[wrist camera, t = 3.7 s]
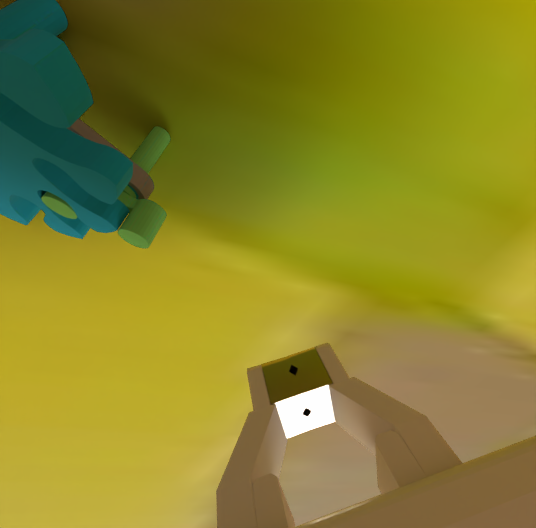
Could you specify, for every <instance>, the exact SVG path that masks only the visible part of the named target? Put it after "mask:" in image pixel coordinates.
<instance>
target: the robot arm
mask: <svg viewBox="0 0 536 528" xmlns="http://www.w3.org/2000/svg"><path fill="white" fill-rule="evenodd" d="M247 375H248V381H249V387H250V393H251V398H252V404H253V410H254V411H252V412H249V415H248V417H247V419H246V422H245V424H244V426H243V429H242V431H241V434H240V436H239V438H238V441H237V443H236V446H235V448H234V450H233V453H232V455H231V457H230V460H229V462H228V465H227V467H226V469H225V472H224V474H223V477H222V479H221V481H220V484H219V486H218V488H217V491H216V495H217V528H536V436H533V437H531V438H528V439H526V440H523V441H520V442H518V443H515V444H512V445H510V446H507V447H505V448H502V449H499V450H497V451H494V452H491V453H489V454H486V455H483V456H481V457H478V458H476V459H473V460H470V461H468V462H465V463H462V462H461V461H460V459H459V458H458V457H457V455H456V454H455V453H454V452H453V450H452V449H451V448H450V446H449V445H448V444H447V443H446V441H445V440H444V439H443V437H442V436H441V435H440V434H439V432H438V431H437V430H436V428H435V427H434V426H433V425H432V423H431V422H430V421H429V419H428V418H427V417H426V416H425V415H423V414H421V413H419V412H417V411H416V410H414V409H412V408H410V407H408V406H406V405H405V404H403V403H401V402H399V401H397V400H395V399H394V398H392V397H390V396H388V395H386V394H384V393H383V392H381V391H379V390H377V389H375V388H373V387H371V386H370V385H368V384H366V383H364V382H362V381H360V380H359V379H357V378H355V377H352V378H349V376H348V374H347V373H346V371H345V369H344V368H343V366H342V364H341V363H340V361H339V359H338V357H337V356H336V354H335V352H334V351H333V349H332V347H331V346H330V344H329V343H325V344H322V345H319V346H316V347H313V348H310V349H307V350H304V351H301V352H298V353H295V354H292V355H289V356H287V357H284V358H280V359H277V360H274V361H270V362H267V363H264V364H261V365H258V366H254V367H251V368H248V369H247ZM333 422H336V424H338V425H339V426H340V427H341V428H342V429H344V430H345V431H346V432H347V433H348V434H350V435H351V436H352V437H353V438H355V439H356V440H357V441H358V442H359V443H361V444H362V445H363V446H364V447H365V448H367V449H368V450H369V451H370V452H371V453H373V454H374V455H375V456H376V464H377V481H378V488H379V490H380V492H381V495H378V496H376V497H373V498H370V499H368V500H365V501H362V502H360V503H357V504H354V505H352V506H349V507H347V508H344V509H341V510H339V511H336V512H333V513H331V514H328V515H326V516H323V517H320V518H318V519H315V520H312V521H310V522H307V523H304V524H302V525H299V526H297V527H295V523H294V518H293V516H292V513H291V511H290V508H289V506H288V503H287V501H286V498H285V495H284V493H283V490H282V488H281V485H280V483H279V476H280V472H281V467H282V463H283V458H284V454H285V449H286V444H287V438H290V437H292V436H295V435H298V434H300V433H303V432H305V431H308V430H311V429H314V428H317V427H320V426H323V425H326V424H329V423H333Z"/></svg>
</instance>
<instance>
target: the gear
mask: <svg viewBox="0 0 536 528" xmlns="http://www.w3.org/2000/svg"><path fill="white" fill-rule="evenodd" d="M67 26H68V22H67V18H66V15H65V13H64V11H63V10H62V8H61V6H60V5H59V4H58V2H57V1H56V0H17V1H15V2H13V3H11V4H10V5H8V6H6V7H4V8H3V9H1V10H0V214H2V215H4V216H6V217H8V218H10V219H12V220H15V221H17V222H19V223H22V224H24V225H28V223H29V222H30V221H31V220H32V219H33V218H34V217H35V215H36V214H37V213H38V212H39V211H40V210H41V209H42V210H43V211H44V213H45V214H46V215H45V217H44V222H45V223H46V224H47V225H48V226H49V227H51V228H52V229H54V230H55V231H57V232H60V233H62V234H65V235H68V236H72V237H76V238H81V239H83V237H84V236H85V235H86V233H87V232H88V231H89V229H90V228H92V229H93V230H95V231H97V232H103V233H108V232H113V231H116V230H118V228H119V227H120V225H121V224H122V222H123V221H124V219H125V218H126V216H127V215H128V213H129V215H128V217H127V218H126V220H125V221H124V223H123V224H122V226H121V227H120V229H119V230H118V234H119V235H120V237H121V238H123V239H124V240H125V241H127V242H128V243H130V244H132V245H134V246H137V247H140V248H148V247H149V246H150V244H151V242H152V241H153V239H154V237H155V236H156V234H157V232H158V230H159V229H160V227H161V225H162V223H163V222H164V220H165V218H166V216H167V215H166V212H165V211H164V209H163V208H162V207H161V206H159V205H158V204H156V203H155V202H153V201H150V200H147V199H148V197H149V196H150V194H151V193H152V191H153V189H154V183H153V181H152V179H151V177H150V176H149V175H148V173H149V171H150V170H151V168H152V167H153V165H154V164H155V163H156V161H157V160H158V158H159V157H160V155H161V154H162V152H163V151H164V149H165V148H166V147H167V145H168V144H169V142H170V140H171V139H170V135H169V134H168V132H167V131H166V130H165V129H163V128H161V127H158V126H156V127H154V128H153V129H152V131H151V132H150V133H149V134H148V136H147V137H146V138H145V140H144V141H143V142H142V144H141V145H140V146H139V148H138V149H137V150H136V152H135V153H134V154H133V156H132V157H131V158H130V159H129V158H128V157H127V156H126V155H124V154H123V153H122V152H121V151H119V150H118V149H117V148H116V147H114V146H113V145H112V144H110V143H109V142H108V141H107V140H105V139H104V138H103V137H102V136H100V135H99V134H98V133H96V132H95V131H94V130H93V129H91V128H90V127H89V126H88V125H86V124H85V123H84V122H83V121H81V120H80V119H79V117H80V116H81V115H82V114H83V113H84V112H85V111H86V110H87V109H88V108H89V107H90V106H91V105H92V104H93V103H94V102H93V98H92V94H91V91H90V89H89V86H88V84H87V82H86V79H85V78H84V76H83V74H82V72H81V70H80V68H79V66H78V64H77V63H76V61H75V59H74V58H73V56H72V54H71V53H70V51H69V49H68V47H67V46H66V44H65V42H64V41H62V40H61V39H59V38H58V37H56V36H58V35H59V34H60V33H62V32H63V31H64V30H66V29H67Z"/></svg>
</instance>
